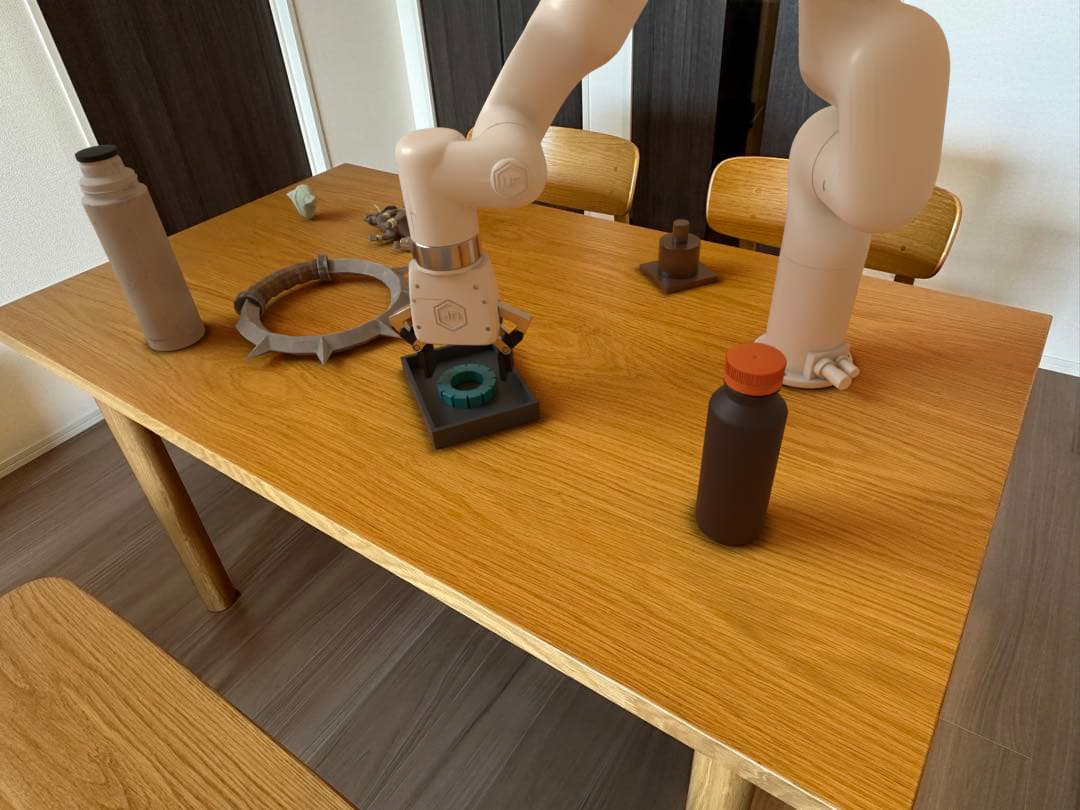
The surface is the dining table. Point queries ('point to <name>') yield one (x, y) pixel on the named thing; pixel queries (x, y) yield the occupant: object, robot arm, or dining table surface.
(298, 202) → the pale green irregular chunk
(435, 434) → the tray
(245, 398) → the dining table surface
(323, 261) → the spiked ring
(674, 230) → the ring stand
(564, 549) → the dining table surface
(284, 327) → the dining table surface
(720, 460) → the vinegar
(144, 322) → the thermos bottle
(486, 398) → the ring
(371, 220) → the figurine
